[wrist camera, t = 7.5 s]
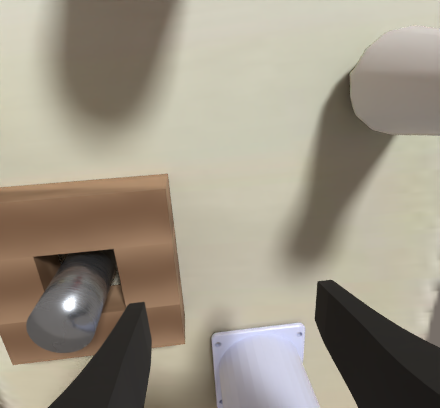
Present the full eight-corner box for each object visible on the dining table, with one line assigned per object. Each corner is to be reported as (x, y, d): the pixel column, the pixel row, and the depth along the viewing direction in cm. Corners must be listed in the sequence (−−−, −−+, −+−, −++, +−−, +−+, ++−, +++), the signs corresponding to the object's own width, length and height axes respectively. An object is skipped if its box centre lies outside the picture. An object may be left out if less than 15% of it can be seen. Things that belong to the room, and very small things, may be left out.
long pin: (121, 276, 24) (98, 350, 18) (74, 279, 24) (33, 355, 17) (115, 236, 23) (90, 300, 16) (66, 238, 23) (19, 304, 16)
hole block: (184, 315, 26) (184, 344, 23) (31, 332, 25) (12, 364, 22) (167, 173, 22) (165, 189, 19) (-22, 189, 21) (-53, 207, 18)
